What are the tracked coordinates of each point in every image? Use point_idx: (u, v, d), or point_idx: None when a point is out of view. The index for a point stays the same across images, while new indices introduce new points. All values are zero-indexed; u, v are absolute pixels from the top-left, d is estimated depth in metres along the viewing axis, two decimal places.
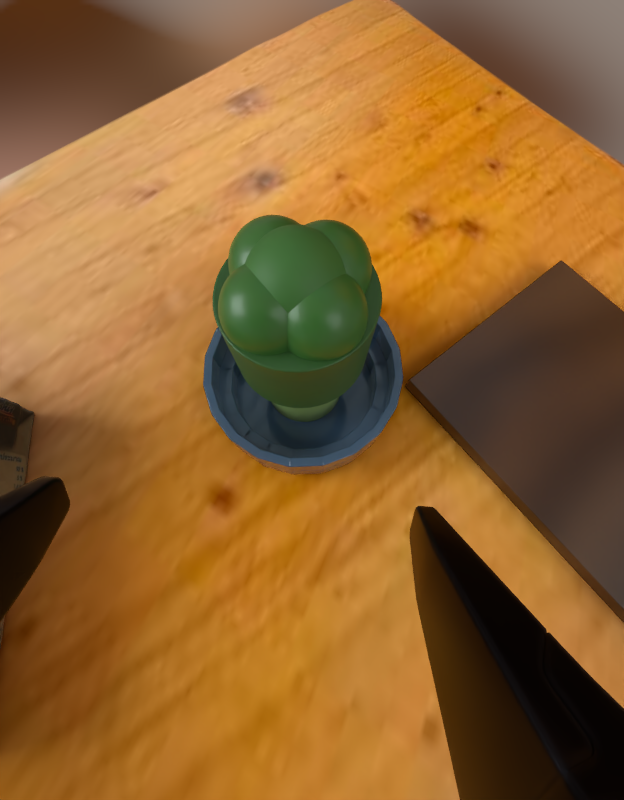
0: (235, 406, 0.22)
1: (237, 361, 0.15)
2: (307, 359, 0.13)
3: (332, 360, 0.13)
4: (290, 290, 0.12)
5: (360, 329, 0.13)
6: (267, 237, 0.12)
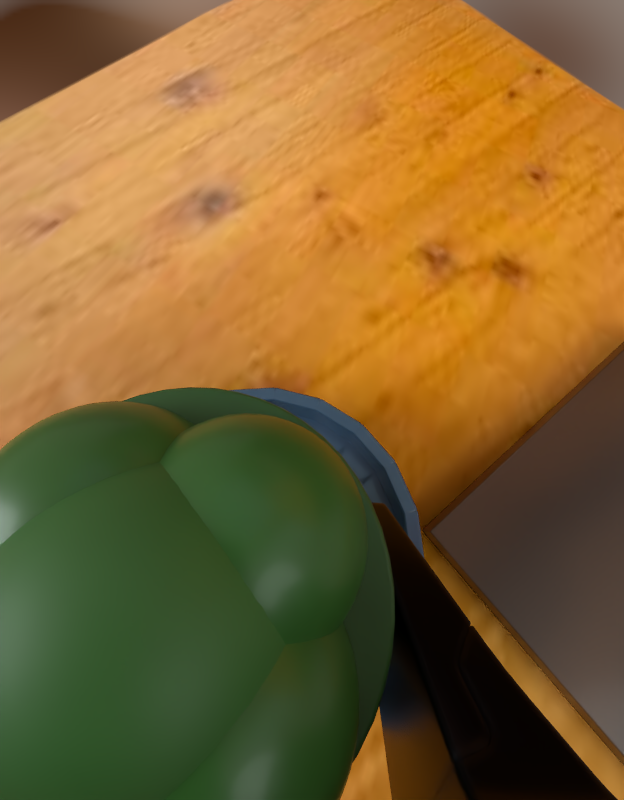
0: None
1: None
2: None
3: None
4: None
5: None
6: (0, 569, 0.04)
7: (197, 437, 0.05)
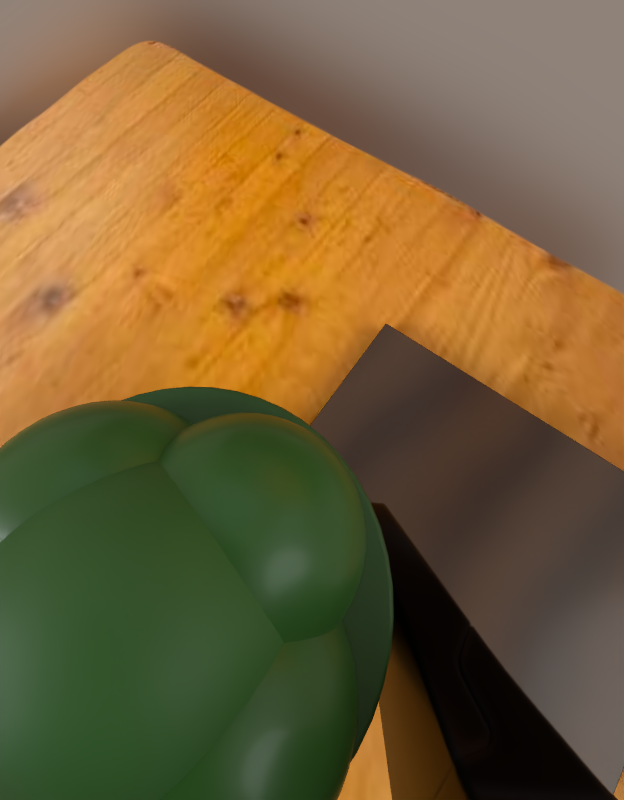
0: None
1: None
2: None
3: None
4: None
5: None
6: None
7: (195, 436, 0.05)
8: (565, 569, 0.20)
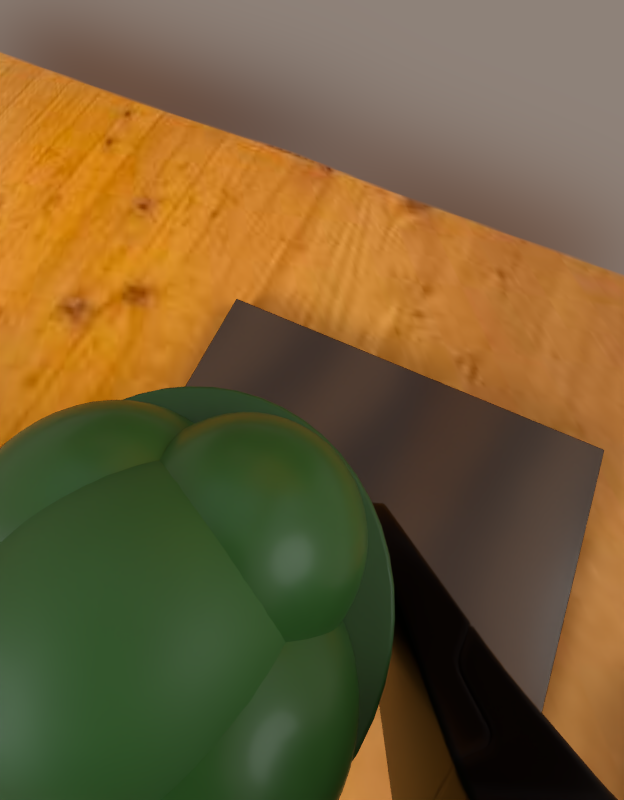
0: None
1: None
2: None
3: None
4: None
5: None
6: (0, 567, 0.04)
7: (197, 435, 0.05)
8: (453, 524, 0.18)
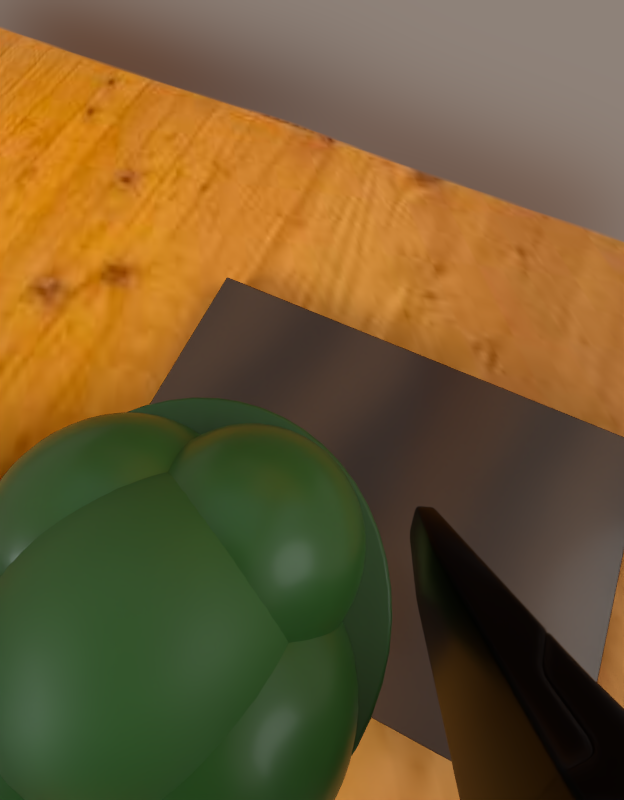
0: None
1: None
2: None
3: None
4: None
5: None
6: (23, 574, 0.04)
7: (203, 447, 0.05)
8: (474, 531, 0.16)
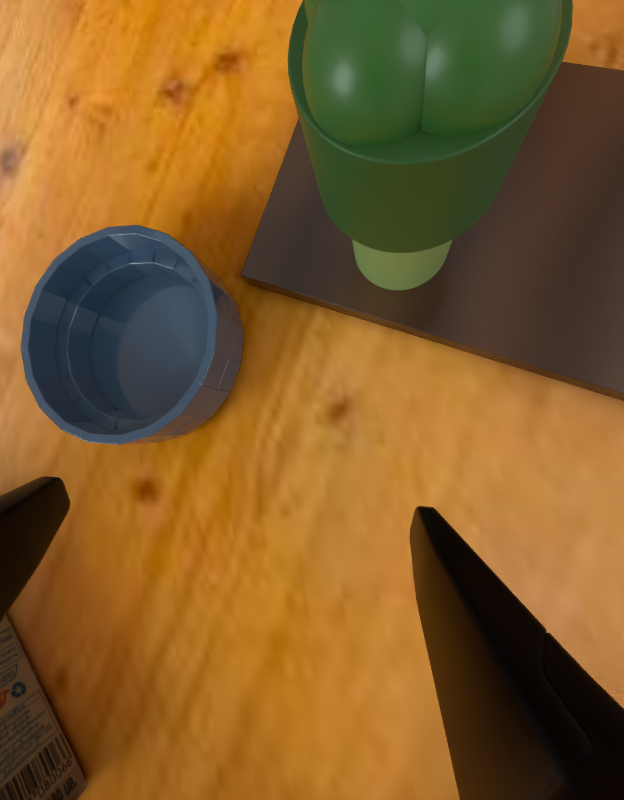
0: (92, 407, 0.21)
1: (334, 183, 0.11)
2: (454, 135, 0.08)
3: (496, 126, 0.08)
4: None
5: (552, 44, 0.07)
6: None
7: None
8: (592, 207, 0.18)
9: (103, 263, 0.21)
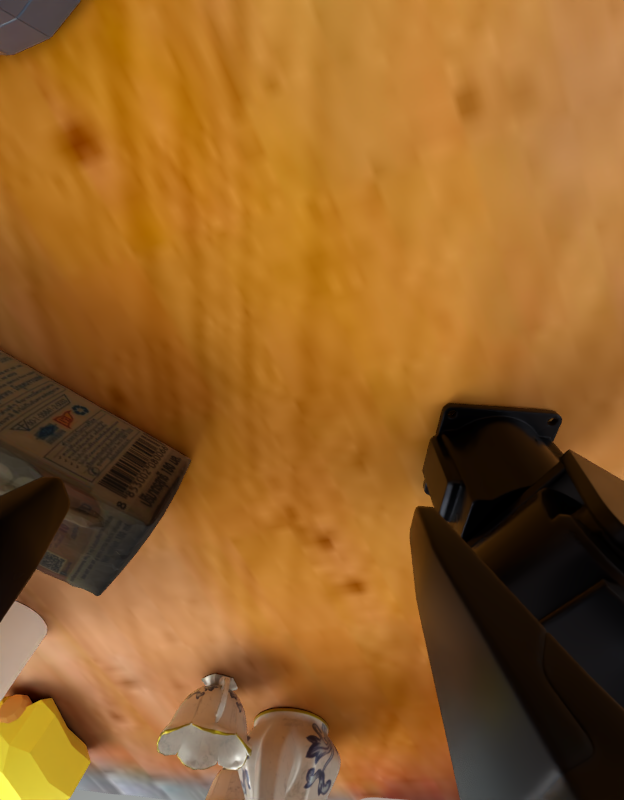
0: None
1: None
2: None
3: None
4: None
5: None
6: None
7: None
8: None
9: None
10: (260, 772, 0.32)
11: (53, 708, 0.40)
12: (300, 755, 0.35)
